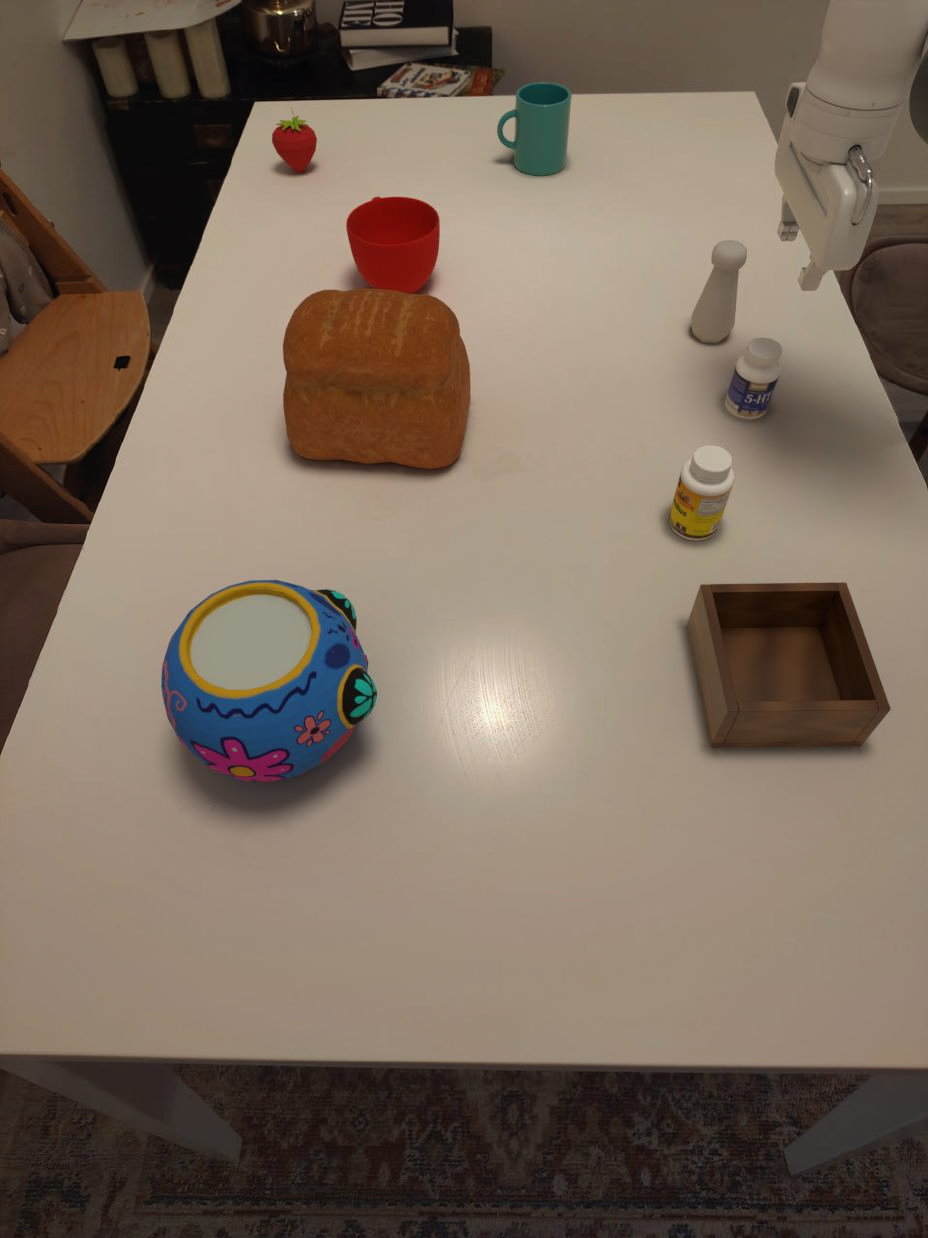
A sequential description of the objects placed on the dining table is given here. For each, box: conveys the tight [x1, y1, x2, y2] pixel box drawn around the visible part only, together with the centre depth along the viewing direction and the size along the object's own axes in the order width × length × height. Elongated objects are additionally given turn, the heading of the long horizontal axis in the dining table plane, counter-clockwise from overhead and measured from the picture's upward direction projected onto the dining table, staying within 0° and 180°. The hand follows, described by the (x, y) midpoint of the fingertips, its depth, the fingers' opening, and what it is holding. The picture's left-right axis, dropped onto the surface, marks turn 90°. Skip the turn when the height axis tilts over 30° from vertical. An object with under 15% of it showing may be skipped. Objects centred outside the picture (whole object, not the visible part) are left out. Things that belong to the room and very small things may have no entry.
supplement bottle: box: [668, 444, 735, 542], centre depth 89 cm, size 6×6×10 cm
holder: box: [686, 581, 892, 748], centre depth 78 cm, size 14×14×7 cm
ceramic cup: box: [345, 196, 441, 294], centre depth 119 cm, size 13×17×10 cm
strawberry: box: [271, 107, 318, 174], centre depth 138 cm, size 6×8×10 cm
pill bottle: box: [724, 337, 783, 420], centre depth 101 cm, size 5×5×9 cm
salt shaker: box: [690, 239, 748, 344], centre depth 108 cm, size 6×6×13 cm
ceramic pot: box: [160, 579, 378, 783], centre depth 73 cm, size 18×18×15 cm
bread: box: [282, 287, 471, 470], centre depth 97 cm, size 18×22×17 cm
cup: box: [496, 81, 573, 177], centre depth 138 cm, size 9×12×11 cm
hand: (795, 261), depth 88 cm, fingers open, 8 cm apart
